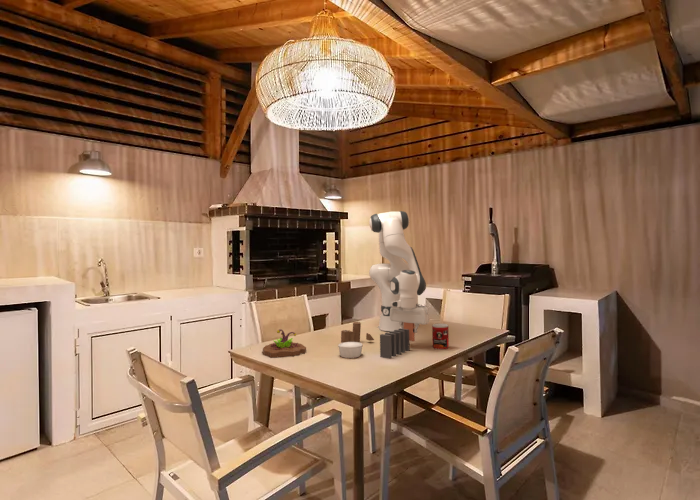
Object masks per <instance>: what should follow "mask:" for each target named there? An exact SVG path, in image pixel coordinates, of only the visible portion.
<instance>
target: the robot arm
mask: <svg viewBox="0 0 700 500" xmlns="http://www.w3.org/2000/svg"><path fill="white" fill-rule="evenodd" d="M368 222H369V227H370V229H371V232H373V233H378V245H379V248H378V249H379V254H380V256H381V257H382V258H384V259H386V260H387V261H388V262H389V263H376V264H372V266H370V267H369V271H368V275H369V277H370V279H371V280H372V281H373V282H374V283H375V284H376V286H378V289H379V291H380V295H381V296H380V298H381V305H380V311H381V313H380V315H379V322H378V323H379V324H378V325H377V329H378V330H379V331H383V332H384V331H385V332H390V331H394V330H398V329H400V328H401V329H404V322H406V323H414V329H413V333H415V334H417V333H418V328H419V326H420V325H427V324H429V323H430V314H429V307H428V306H427V305H426V304H419V296H421V295H423V293H424V292H425V291H426V289H427V283H426V279H425V277H424V275H423V274H422V271H421V268H420V266H419V263H418V260H417V256H416V254H415V251H414V249H413V247H411V246H410V245H409V243H408V242H407V240H406V237H405V233H404V232H405V231H404V230H406V229H407V228H408V227H409V223H410V216H409V215H408V213H407V212H406V211H404V210H403V211H402V210H399V211H387V212H380V213H374V214H371V216H370V218H369V221H368ZM404 260H405V261H404Z"/></svg>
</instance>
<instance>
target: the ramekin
mask: <svg viewBox="0 0 700 500" xmlns="http://www.w3.org/2000/svg"><path fill="white" fill-rule="evenodd" d="M337 348H338V350H339V351H338V352H339V356H340V357H341V358H346V359H355V358H360V356H361V355H362V349H363V343H362V342H344V343H341V342H340V343H339V344H337Z"/></svg>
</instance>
